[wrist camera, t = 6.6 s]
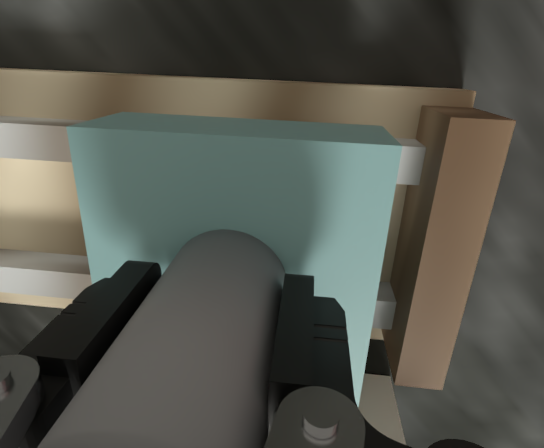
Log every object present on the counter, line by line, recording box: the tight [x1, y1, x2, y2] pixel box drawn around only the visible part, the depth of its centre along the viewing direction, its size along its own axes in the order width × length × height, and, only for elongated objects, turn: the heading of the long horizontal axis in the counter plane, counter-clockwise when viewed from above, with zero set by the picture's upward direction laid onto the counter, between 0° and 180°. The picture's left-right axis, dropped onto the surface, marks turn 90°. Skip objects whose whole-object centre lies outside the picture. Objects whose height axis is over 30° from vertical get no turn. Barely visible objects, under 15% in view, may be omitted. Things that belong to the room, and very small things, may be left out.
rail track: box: [0, 68, 516, 390], centre depth 15 cm, size 25×10×4 cm, turn 88°
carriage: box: [37, 112, 402, 448], centre depth 9 cm, size 8×8×9 cm
